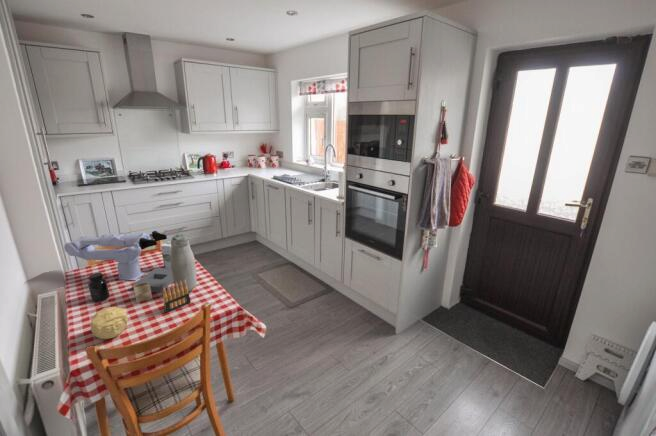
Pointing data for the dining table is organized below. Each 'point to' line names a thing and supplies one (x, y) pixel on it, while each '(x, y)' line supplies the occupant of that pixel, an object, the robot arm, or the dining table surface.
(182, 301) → the ammunition clip
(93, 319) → the sculpture
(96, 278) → the supplement bottle
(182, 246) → the grey bottle
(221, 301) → the dining table surface
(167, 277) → the slot board
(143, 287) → the peg
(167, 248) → the syrup box
